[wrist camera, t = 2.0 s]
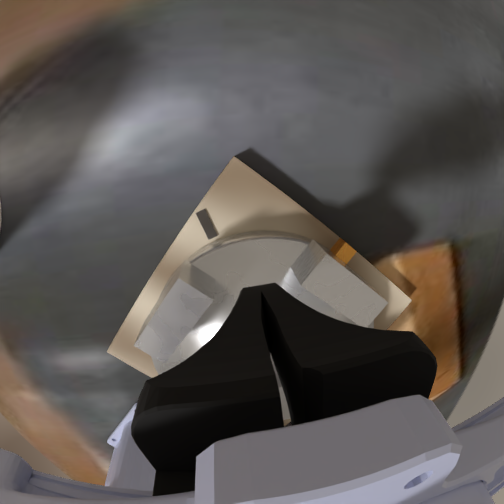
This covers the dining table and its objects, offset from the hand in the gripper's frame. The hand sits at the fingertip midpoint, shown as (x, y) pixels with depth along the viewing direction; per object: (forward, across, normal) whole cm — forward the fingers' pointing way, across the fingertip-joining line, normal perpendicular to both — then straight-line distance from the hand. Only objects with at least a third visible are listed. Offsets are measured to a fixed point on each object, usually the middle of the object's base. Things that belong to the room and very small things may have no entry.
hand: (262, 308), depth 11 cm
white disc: (+8, 0, +7) cm, 10 cm away
